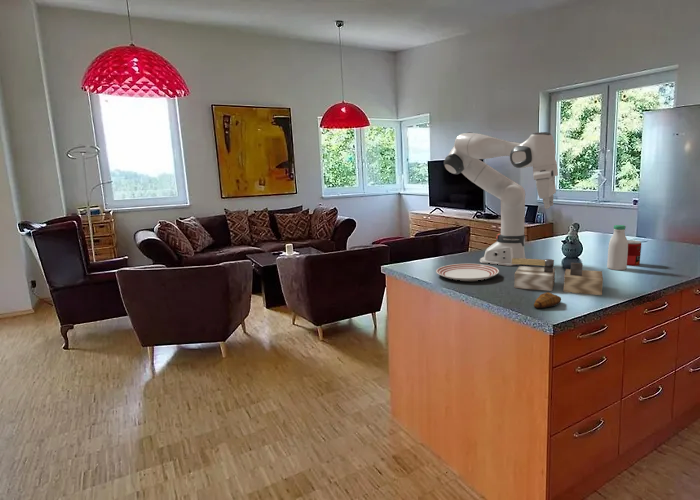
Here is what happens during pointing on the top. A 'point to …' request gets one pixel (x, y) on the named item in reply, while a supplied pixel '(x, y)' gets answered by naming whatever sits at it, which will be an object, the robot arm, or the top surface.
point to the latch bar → (533, 262)
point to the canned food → (633, 253)
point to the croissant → (547, 300)
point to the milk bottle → (618, 249)
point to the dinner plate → (467, 272)
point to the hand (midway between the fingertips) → (549, 207)
